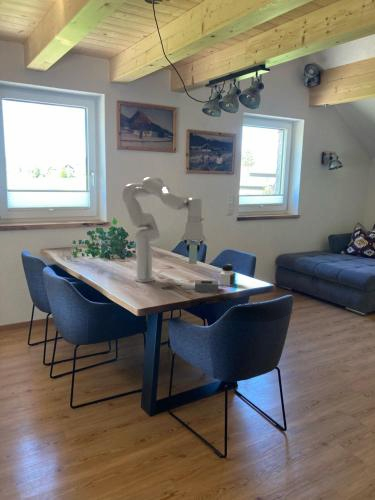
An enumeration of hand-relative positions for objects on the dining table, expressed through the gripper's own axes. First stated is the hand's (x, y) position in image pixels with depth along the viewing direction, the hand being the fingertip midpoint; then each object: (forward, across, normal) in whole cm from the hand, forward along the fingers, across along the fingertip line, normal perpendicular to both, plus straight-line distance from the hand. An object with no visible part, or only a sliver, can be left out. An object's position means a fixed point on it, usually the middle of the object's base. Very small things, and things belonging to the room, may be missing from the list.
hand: (193, 251), depth 226 cm
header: (+21, -8, +4) cm, 23 cm away
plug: (+7, 0, 0) cm, 7 cm away
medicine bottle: (+21, -21, -10) cm, 32 cm away
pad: (+22, +1, 0) cm, 22 cm away
